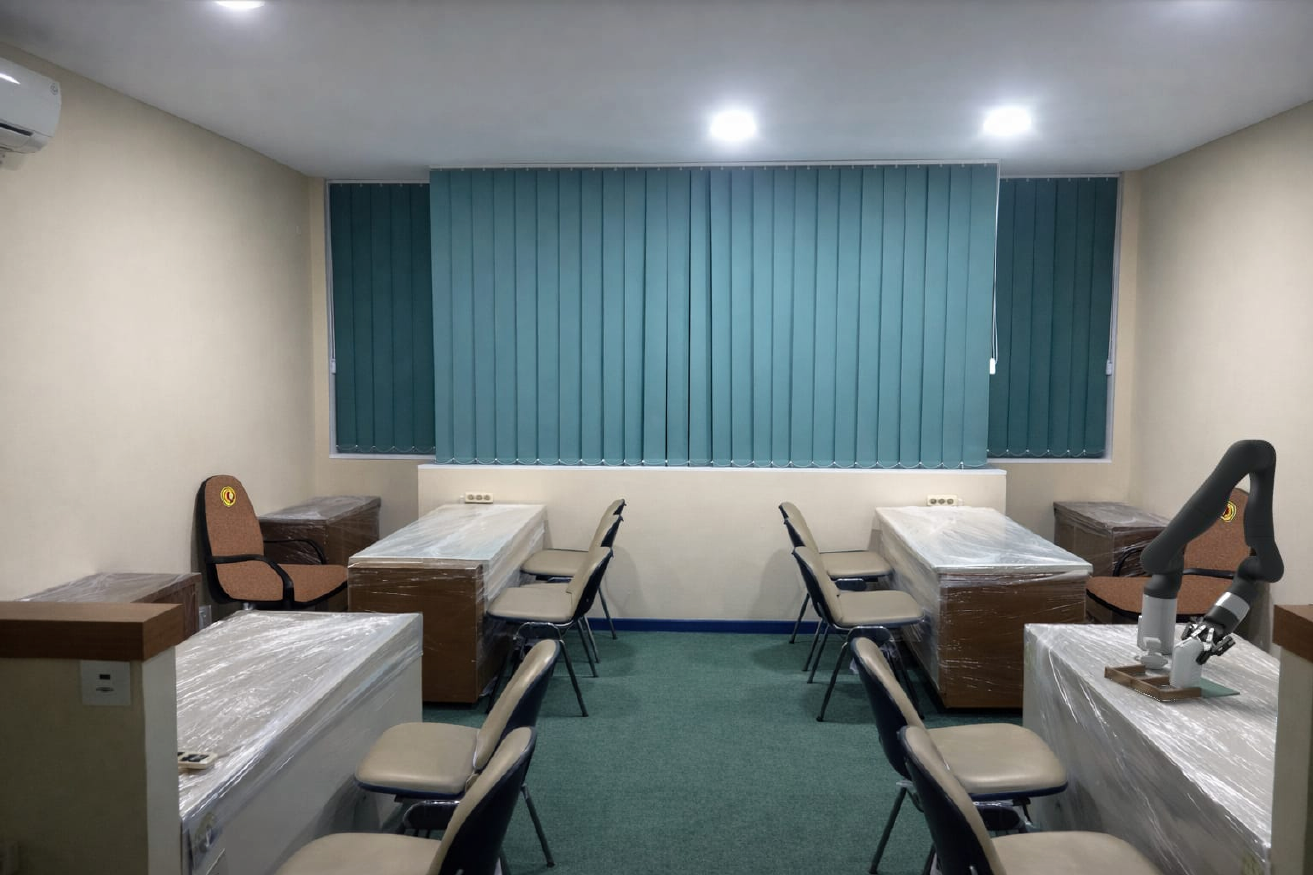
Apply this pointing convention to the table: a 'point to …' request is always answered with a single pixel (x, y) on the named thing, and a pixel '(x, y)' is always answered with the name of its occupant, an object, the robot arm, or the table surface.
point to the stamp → (1151, 654)
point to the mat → (1213, 689)
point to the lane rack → (1149, 683)
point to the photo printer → (1186, 663)
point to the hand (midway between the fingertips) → (1189, 659)
